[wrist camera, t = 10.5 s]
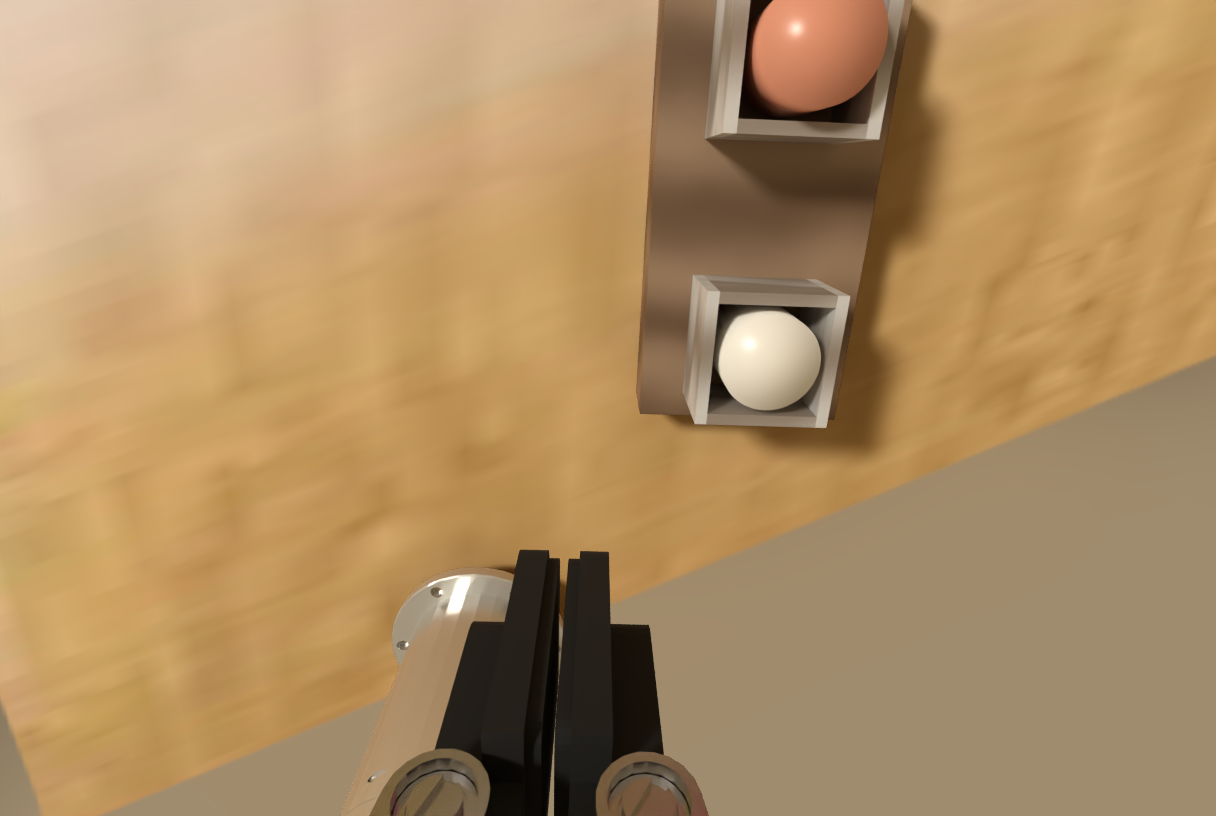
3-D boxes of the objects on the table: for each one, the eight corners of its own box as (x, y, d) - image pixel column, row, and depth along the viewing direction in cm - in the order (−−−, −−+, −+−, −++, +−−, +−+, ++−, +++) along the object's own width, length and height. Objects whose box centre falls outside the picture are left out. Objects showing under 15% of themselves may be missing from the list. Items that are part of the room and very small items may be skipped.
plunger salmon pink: (832, 120, 30) (874, 110, 25) (731, 116, 30) (755, 105, 25) (850, 1, 28) (900, -33, 23) (743, -4, 28) (772, -39, 23)
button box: (812, 397, 41) (867, 455, 33) (636, 391, 41) (645, 448, 32) (884, -24, 32) (984, -93, 24) (661, -35, 32) (682, -108, 24)
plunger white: (784, 381, 36) (812, 411, 31) (701, 378, 36) (716, 408, 31) (797, 297, 34) (828, 317, 30) (709, 294, 34) (727, 313, 29)
